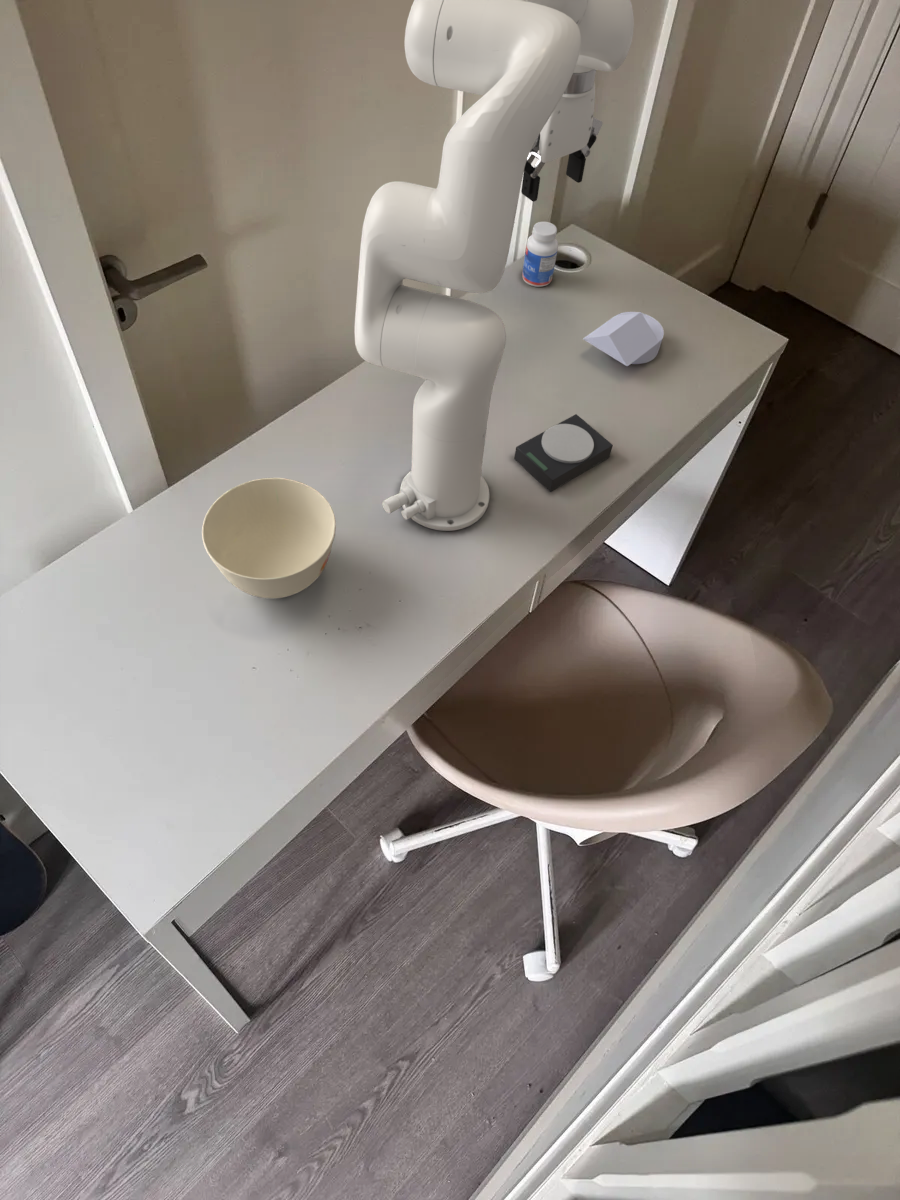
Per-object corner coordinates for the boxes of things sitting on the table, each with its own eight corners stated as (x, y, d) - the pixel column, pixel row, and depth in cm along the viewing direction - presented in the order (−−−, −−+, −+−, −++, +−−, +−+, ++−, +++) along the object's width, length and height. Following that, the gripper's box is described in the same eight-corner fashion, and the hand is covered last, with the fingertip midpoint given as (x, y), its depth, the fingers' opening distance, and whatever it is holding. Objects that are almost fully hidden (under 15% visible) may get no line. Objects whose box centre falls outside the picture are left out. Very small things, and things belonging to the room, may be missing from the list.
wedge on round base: (622, 383, 137) (669, 346, 143) (632, 349, 132) (680, 312, 138) (578, 355, 141) (625, 321, 146) (586, 321, 135) (635, 287, 141)
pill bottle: (516, 272, 153) (523, 221, 145) (543, 266, 154) (551, 215, 146) (530, 290, 150) (538, 239, 142) (557, 284, 151) (566, 233, 143)
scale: (550, 492, 123) (553, 477, 121) (513, 458, 126) (516, 444, 124) (609, 457, 128) (614, 442, 125) (573, 425, 131) (576, 411, 129)
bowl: (279, 509, 119) (271, 458, 110) (365, 571, 113) (363, 522, 105) (189, 579, 111) (173, 529, 103) (276, 648, 106) (267, 602, 98)
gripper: (594, 49, 129) (574, 161, 143) (507, 79, 123) (495, 193, 137) (629, 70, 126) (606, 182, 140) (541, 102, 120) (526, 216, 134)
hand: (551, 187), depth 139 cm, fingers open, 9 cm apart
